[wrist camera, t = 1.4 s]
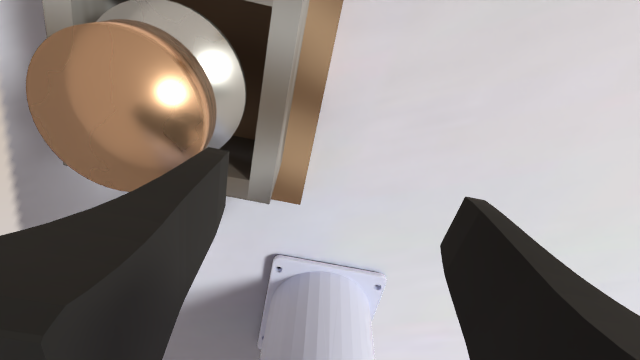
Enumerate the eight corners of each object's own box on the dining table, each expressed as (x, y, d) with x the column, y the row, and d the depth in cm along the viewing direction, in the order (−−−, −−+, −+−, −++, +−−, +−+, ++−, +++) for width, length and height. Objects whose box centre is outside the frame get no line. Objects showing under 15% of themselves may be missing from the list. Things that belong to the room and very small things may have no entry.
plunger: (238, 170, 16) (212, 220, 12) (93, 141, 15) (25, 185, 12) (255, 19, 13) (228, 30, 10) (79, -20, 13) (-14, -23, 9)
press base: (302, 192, 23) (292, 253, 18) (106, 154, 22) (36, 206, 17) (357, -71, 17) (368, -98, 11) (86, -138, 16) (-36, -199, 11)
